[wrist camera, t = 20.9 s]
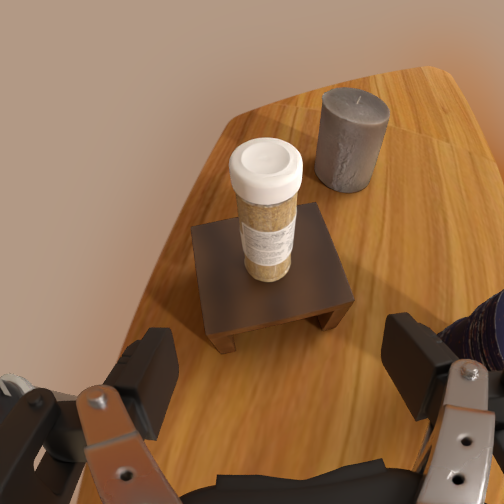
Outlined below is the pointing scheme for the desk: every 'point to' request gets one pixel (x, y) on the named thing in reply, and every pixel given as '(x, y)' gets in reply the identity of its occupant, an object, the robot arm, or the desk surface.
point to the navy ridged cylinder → (479, 334)
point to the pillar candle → (349, 138)
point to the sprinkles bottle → (266, 203)
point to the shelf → (268, 293)
